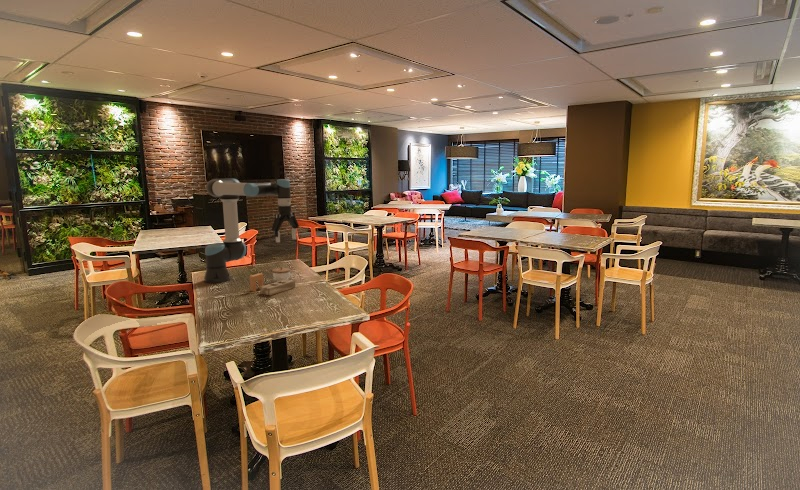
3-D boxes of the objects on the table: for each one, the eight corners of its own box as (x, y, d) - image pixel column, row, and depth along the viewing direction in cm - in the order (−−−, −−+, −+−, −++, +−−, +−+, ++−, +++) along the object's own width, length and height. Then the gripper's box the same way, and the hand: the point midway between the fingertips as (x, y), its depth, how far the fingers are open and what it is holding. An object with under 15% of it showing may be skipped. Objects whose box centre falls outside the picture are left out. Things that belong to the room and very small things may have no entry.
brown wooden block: (260, 293, 245) (259, 286, 244) (285, 285, 262) (285, 279, 261) (270, 295, 241) (269, 288, 240) (295, 287, 258) (294, 280, 257)
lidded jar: (293, 279, 276) (292, 265, 274) (287, 283, 266) (286, 269, 264) (277, 279, 277) (276, 265, 275) (270, 283, 267) (269, 268, 265)
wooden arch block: (250, 290, 250) (249, 275, 249) (260, 287, 257) (259, 273, 255) (254, 291, 249) (253, 276, 247) (264, 288, 255) (263, 273, 254)
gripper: (273, 207, 241) (275, 244, 245) (303, 204, 263) (305, 238, 266) (264, 206, 245) (266, 242, 249) (294, 203, 266) (296, 237, 270)
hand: (286, 240), depth 257 cm, fingers open, 13 cm apart
